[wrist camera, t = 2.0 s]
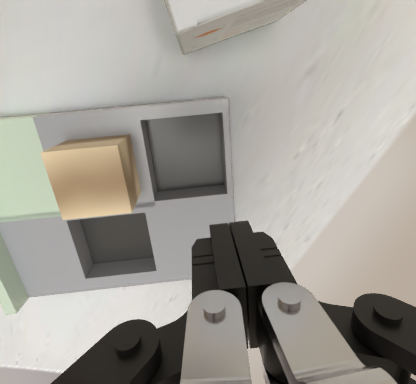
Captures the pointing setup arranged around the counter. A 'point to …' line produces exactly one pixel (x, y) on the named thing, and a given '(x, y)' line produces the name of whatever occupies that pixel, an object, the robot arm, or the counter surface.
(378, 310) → the robot arm
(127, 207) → the block
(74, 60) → the counter surface
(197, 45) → the small box
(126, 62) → the counter surface
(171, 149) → the grey slotted tray
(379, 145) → the counter surface
